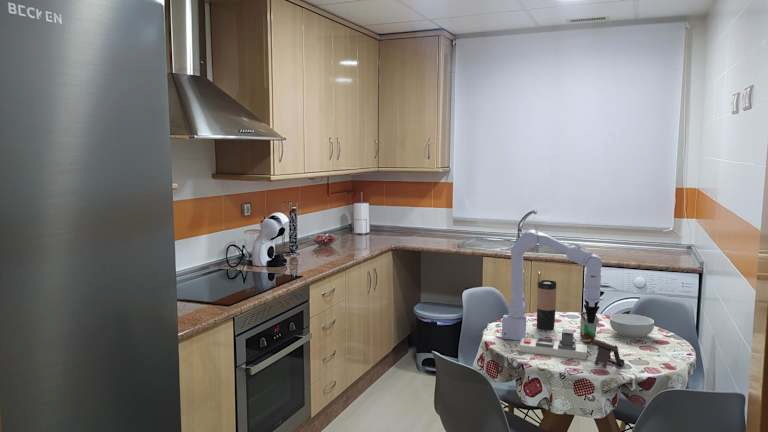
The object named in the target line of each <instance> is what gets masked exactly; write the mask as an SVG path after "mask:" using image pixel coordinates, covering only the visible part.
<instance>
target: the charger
mask: <svg viewBox="0 0 768 432" xmlns="http://www.w3.org/2000/svg"><path fill="white" fill-rule="evenodd" d="M574 332H575V331H574V329H573V328H562V329H561V340H562V342H561V345H563V346H572V347H573V341H574Z"/></svg>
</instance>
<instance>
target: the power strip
mask: <svg viewBox="0 0 768 432" xmlns="http://www.w3.org/2000/svg"><path fill="white" fill-rule="evenodd" d="M561 342H562V339H558V341H555V339H554V338H549V337H548V338H547V337H539V336H538V337H537V338H536V339H535V338H528V337H527V338H522V340H521V341H520V343H519V346H518V347H519V348H518V352H523V353H528V354H529V353H530V354H538V355H540V354H541V355H547V356H548V355H549V356H556V357H565V358H574V359H579V360H580V359H582V360H587V355H588V353H587V352H588V344H581V343H577V341H576V340H575V341H574V340H573V347H572V346H563V345H561Z"/></svg>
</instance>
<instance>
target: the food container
mask: <svg viewBox="0 0 768 432" xmlns="http://www.w3.org/2000/svg"><path fill="white" fill-rule="evenodd" d="M599 322H600V320H599V317H598V315H597V314H596V316H595V321H594V324H592V323H588V321H587V314H586V311H580V326H579V327H580V328H579V330H580V332H579V333H580V334H579V335H580V336H579V337H580V339H581V341H582V343H583V344H585V345H588V344H593V340H594V339H596V333H597V326H598V324H599Z"/></svg>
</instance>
